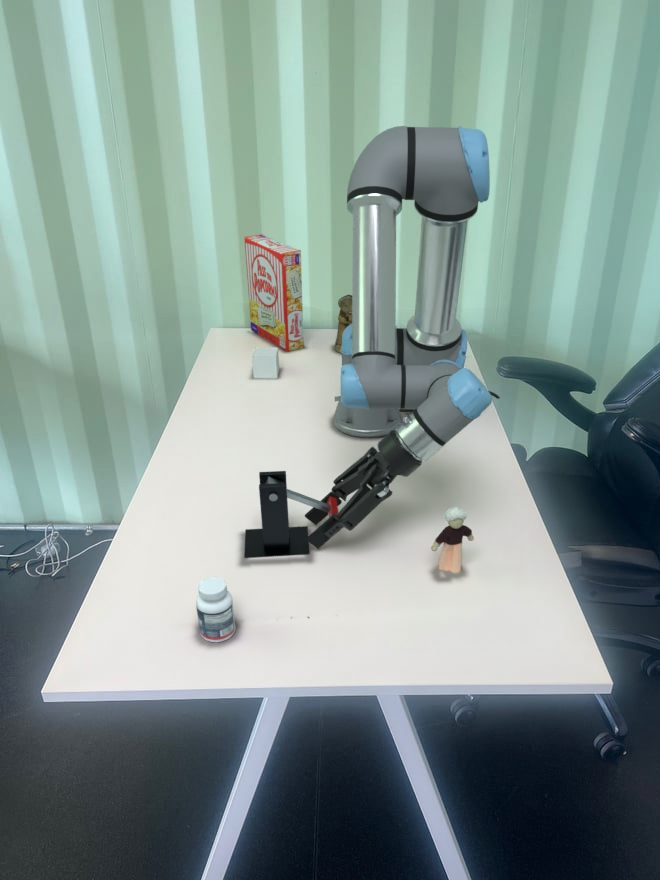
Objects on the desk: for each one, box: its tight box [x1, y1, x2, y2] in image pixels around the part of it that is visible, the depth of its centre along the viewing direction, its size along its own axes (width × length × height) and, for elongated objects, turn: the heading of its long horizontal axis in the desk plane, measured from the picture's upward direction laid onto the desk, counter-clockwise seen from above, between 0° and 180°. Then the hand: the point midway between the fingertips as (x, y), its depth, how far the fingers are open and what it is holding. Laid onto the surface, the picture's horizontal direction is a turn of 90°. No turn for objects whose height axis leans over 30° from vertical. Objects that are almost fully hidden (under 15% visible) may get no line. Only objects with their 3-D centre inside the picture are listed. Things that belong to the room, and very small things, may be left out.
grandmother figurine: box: [430, 506, 475, 574], centre depth 124 cm, size 8×4×13 cm, turn 126°
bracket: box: [243, 470, 311, 559], centre depth 128 cm, size 11×8×14 cm
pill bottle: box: [195, 576, 237, 643], centre depth 111 cm, size 5×5×9 cm
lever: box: [265, 477, 339, 519], centre depth 127 cm, size 13×6×2 cm, turn 98°
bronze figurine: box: [334, 294, 352, 354], centre depth 206 cm, size 9×14×18 cm, turn 179°
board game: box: [243, 233, 305, 353], centre depth 210 cm, size 20×6×27 cm, turn 37°
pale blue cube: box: [251, 346, 280, 379], centre depth 195 cm, size 6×6×6 cm
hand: (311, 531), depth 131 cm, fingers closed on lever, 6 cm apart
